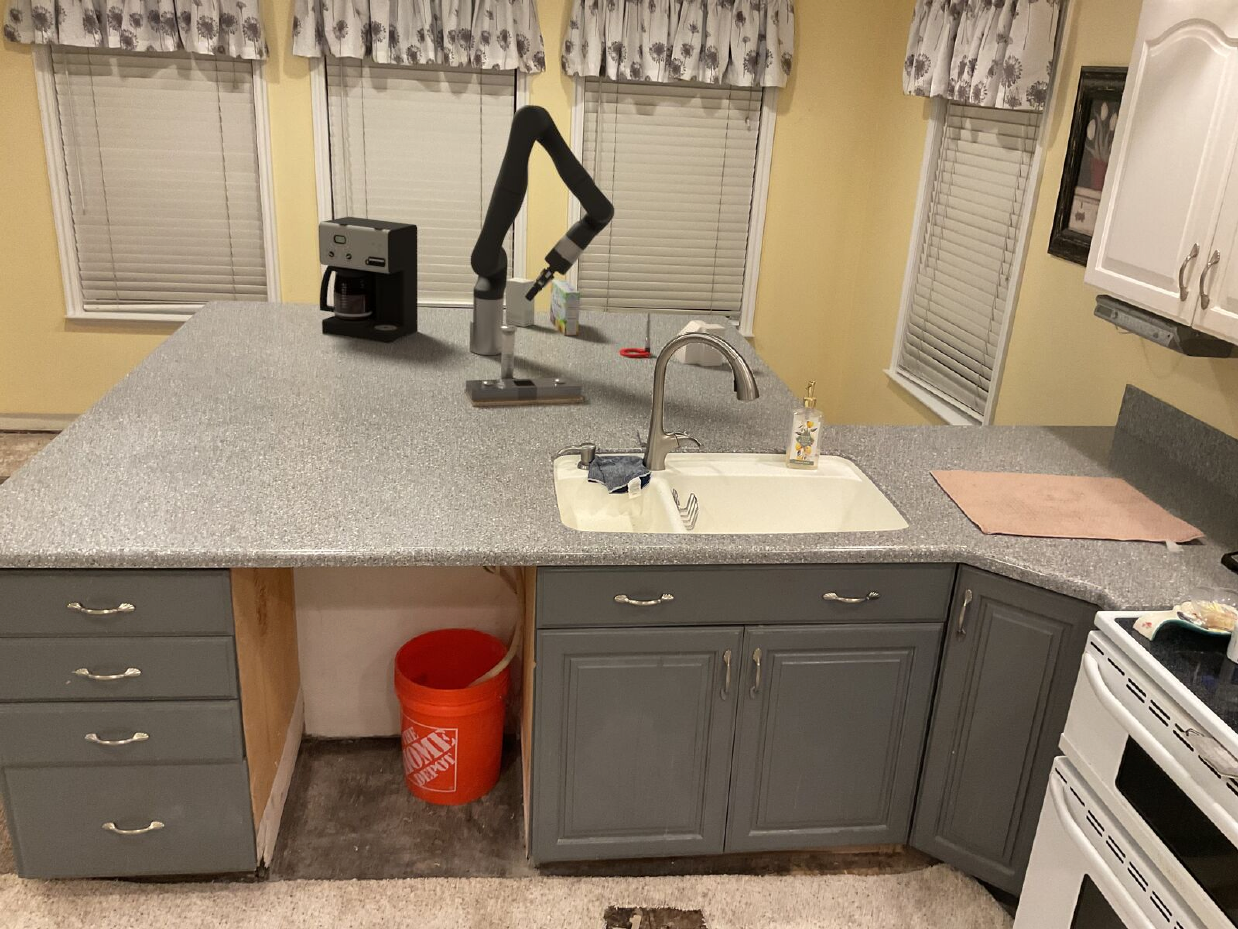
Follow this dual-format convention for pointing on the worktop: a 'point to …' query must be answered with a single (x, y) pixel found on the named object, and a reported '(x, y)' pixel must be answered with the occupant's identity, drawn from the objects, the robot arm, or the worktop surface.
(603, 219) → the robot arm
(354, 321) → the coffee maker
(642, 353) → the tow hook
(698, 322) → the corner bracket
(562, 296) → the snack box
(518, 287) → the skincare box
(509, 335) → the steel pin
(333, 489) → the worktop surface
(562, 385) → the pin socket base plate
